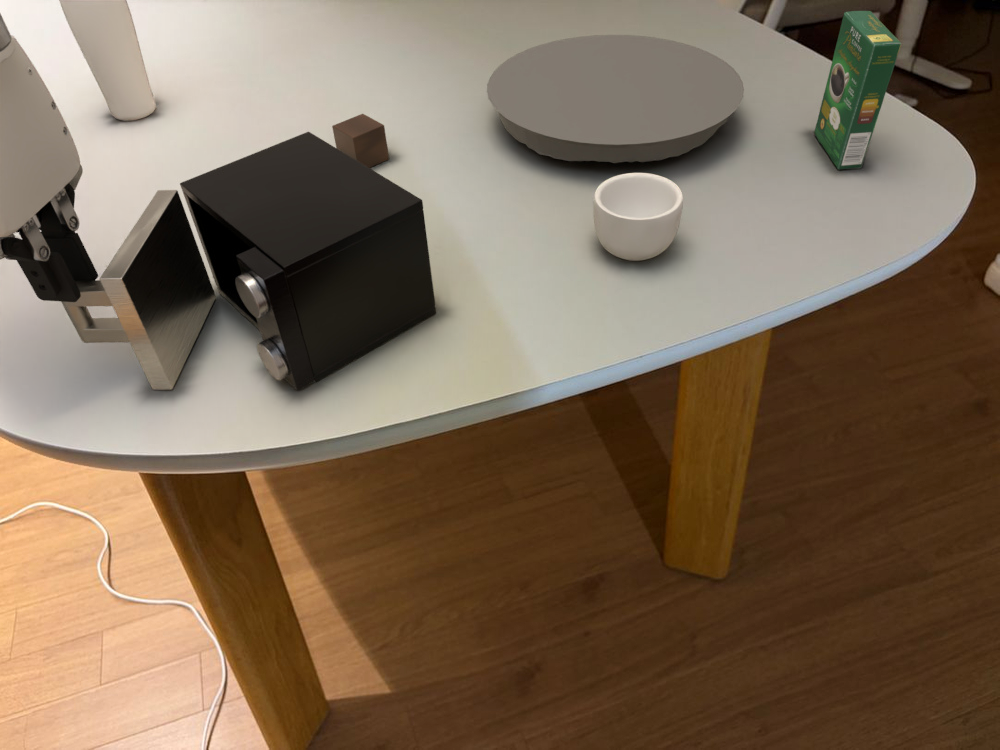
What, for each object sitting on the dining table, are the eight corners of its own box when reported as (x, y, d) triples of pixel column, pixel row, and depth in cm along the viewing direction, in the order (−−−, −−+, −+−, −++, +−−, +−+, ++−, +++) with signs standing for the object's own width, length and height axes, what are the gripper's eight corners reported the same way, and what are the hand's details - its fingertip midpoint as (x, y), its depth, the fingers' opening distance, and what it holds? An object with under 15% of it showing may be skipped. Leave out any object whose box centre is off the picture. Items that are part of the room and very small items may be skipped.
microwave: (289, 398, 61) (252, 282, 53) (193, 305, 70) (150, 194, 62) (436, 313, 68) (422, 199, 60) (332, 238, 77) (308, 131, 69)
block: (359, 172, 85) (353, 138, 83) (338, 160, 88) (331, 125, 85) (389, 159, 87) (384, 124, 85) (368, 147, 90) (362, 113, 87)
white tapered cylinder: (170, 114, 98) (126, -16, 87) (114, 130, 95) (61, -2, 85) (154, 95, 102) (109, -31, 92) (100, 111, 99) (48, -18, 89)
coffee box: (865, 170, 81) (904, 40, 72) (837, 172, 81) (872, 42, 72) (838, 133, 87) (872, 8, 78) (812, 134, 87) (842, 10, 78)
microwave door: (81, 390, 62) (18, 279, 55) (135, 297, 71) (87, 191, 63) (172, 389, 62) (121, 278, 55) (216, 296, 70) (177, 189, 63)
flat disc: (514, 65, 104) (513, 30, 101) (736, 75, 99) (742, 39, 96) (463, 175, 84) (460, 135, 81) (737, 194, 79) (745, 152, 76)
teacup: (654, 281, 69) (660, 229, 66) (576, 256, 73) (577, 205, 69) (698, 225, 75) (706, 174, 72) (624, 204, 79) (628, 154, 75)
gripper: (-36, -9, 53) (80, 228, 66) (-227, 93, 42) (-43, 356, 54) (66, -10, 52) (165, 232, 64) (-102, 95, 41) (56, 363, 53)
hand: (69, 287), depth 59 cm, fingers closed on microwave door
